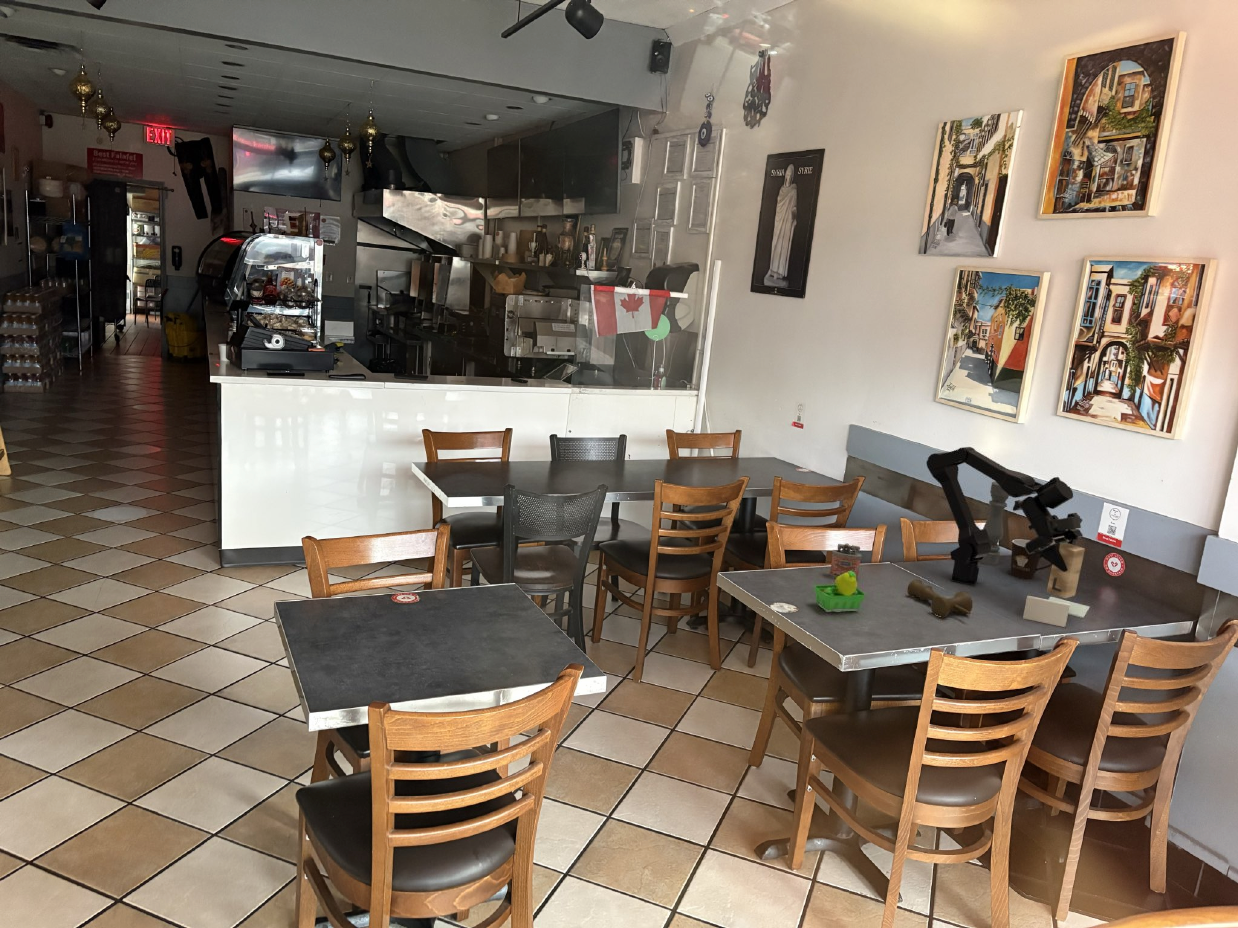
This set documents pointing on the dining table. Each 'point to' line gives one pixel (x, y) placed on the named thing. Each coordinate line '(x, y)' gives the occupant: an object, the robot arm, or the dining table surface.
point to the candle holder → (995, 523)
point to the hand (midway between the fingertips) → (1071, 569)
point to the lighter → (845, 560)
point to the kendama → (941, 599)
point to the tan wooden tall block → (1068, 580)
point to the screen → (1046, 611)
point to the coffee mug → (1024, 560)
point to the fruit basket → (840, 593)
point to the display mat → (1073, 607)
